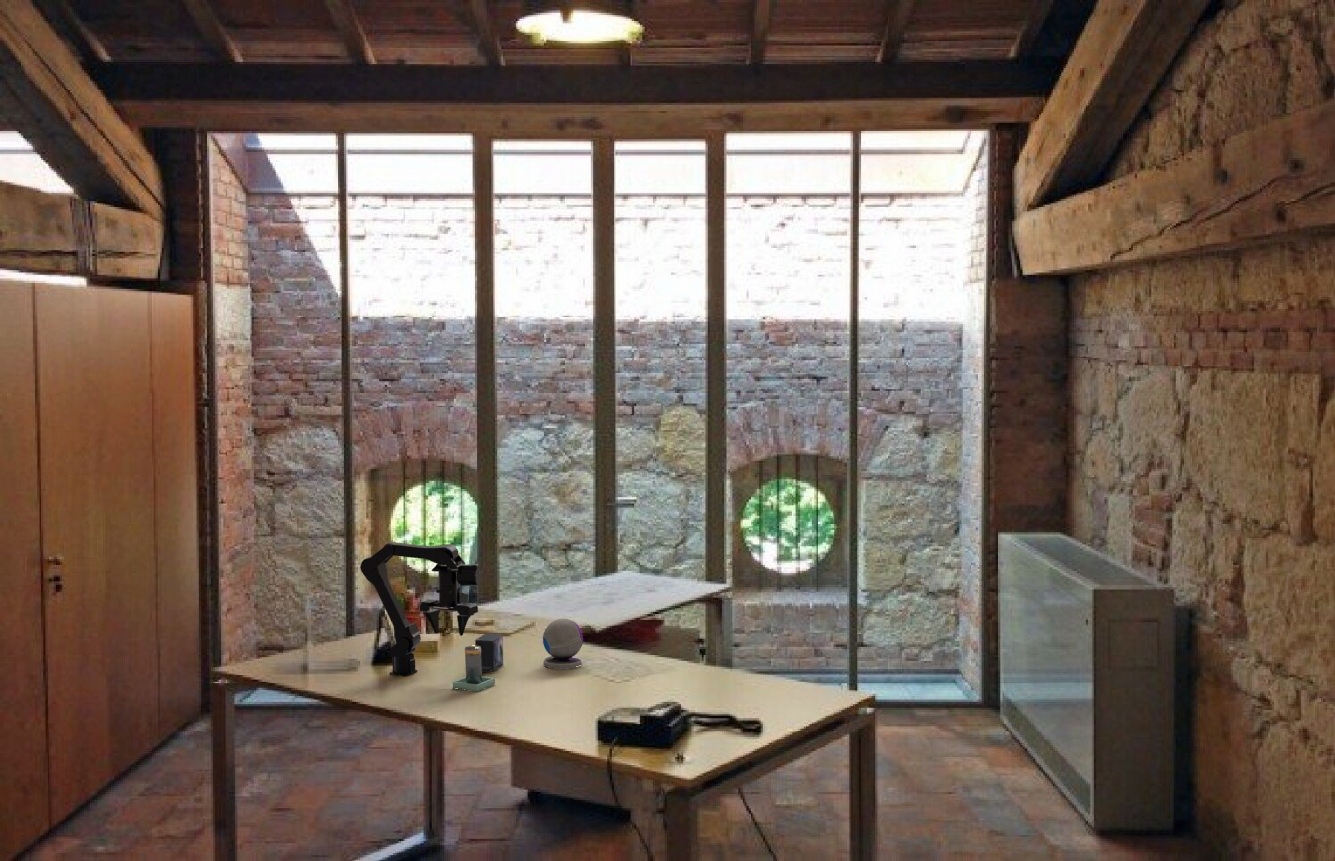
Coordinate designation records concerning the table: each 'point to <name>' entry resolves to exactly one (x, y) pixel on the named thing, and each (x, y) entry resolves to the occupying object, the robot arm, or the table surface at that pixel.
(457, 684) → the tray
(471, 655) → the lidded jar
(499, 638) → the small box
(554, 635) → the webcam
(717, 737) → the table surface
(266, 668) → the table surface
